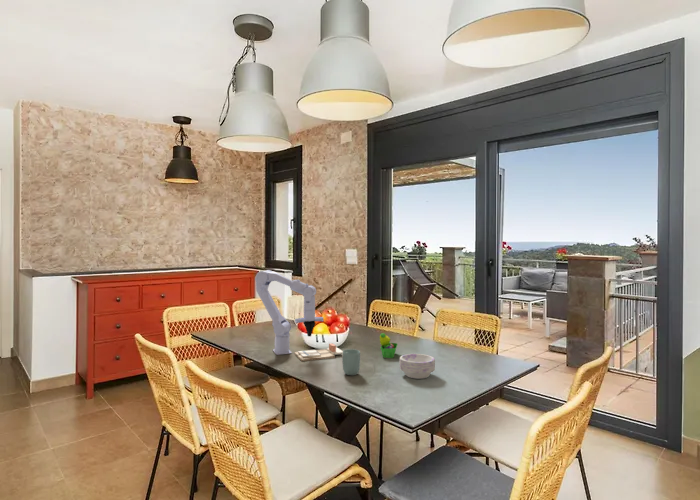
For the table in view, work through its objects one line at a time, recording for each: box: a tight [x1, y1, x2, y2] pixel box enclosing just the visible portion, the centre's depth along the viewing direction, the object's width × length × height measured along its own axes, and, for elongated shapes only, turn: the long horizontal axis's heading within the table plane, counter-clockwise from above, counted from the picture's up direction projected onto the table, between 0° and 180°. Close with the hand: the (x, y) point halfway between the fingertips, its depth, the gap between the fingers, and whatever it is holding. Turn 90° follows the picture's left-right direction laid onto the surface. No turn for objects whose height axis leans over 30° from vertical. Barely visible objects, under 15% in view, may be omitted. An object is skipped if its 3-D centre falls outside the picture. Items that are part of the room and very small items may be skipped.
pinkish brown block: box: [326, 343, 344, 356], centre depth 216 cm, size 10×6×4 cm, turn 22°
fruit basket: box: [378, 332, 398, 359], centre depth 214 cm, size 11×9×11 cm
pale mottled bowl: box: [399, 353, 436, 380], centre depth 182 cm, size 15×15×8 cm
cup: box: [341, 348, 361, 376], centre depth 183 cm, size 8×8×10 cm
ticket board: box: [293, 348, 336, 362], centre depth 211 cm, size 14×17×2 cm
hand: (309, 335), depth 214 cm, fingers closed
